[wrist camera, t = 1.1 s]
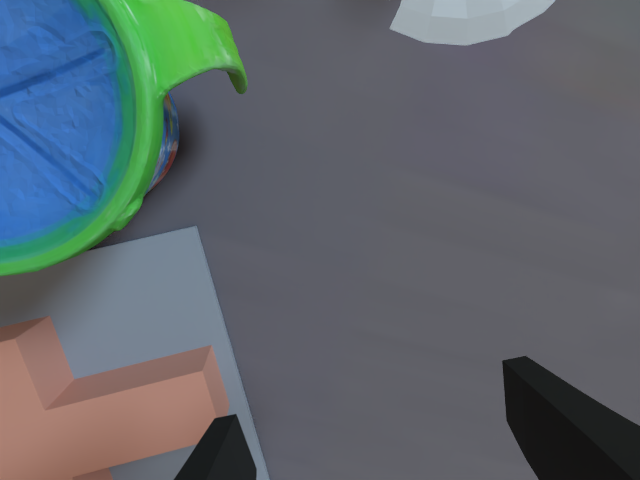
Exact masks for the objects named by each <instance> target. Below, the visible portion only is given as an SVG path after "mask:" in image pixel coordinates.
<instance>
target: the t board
mask: <svg viewBox="0 0 640 480" xmlns="http://www.w3.org/2000/svg"><path fill="white" fill-rule="evenodd" d="M45 316H50V317H51V320H52V323H53V325H54V328H55V330H56V333H57V335H58V338H59V341H60V343H61V346H62V348H63V351H64V354H65V356H66V359H67V361H68V364H69V367H70V369H71V372H72V374H73V377H74V379H77V378H81V377H85V376H89V375H93V374H97V373H101V372H105V371H109V370H113V369H117V368H121V367H125V366H129V365H133V364H137V363H141V362H145V361H149V360H153V359H157V358H161V357H165V356H169V355H173V354H177V353H181V352H185V351H189V350H193V349H197V348H201V347H205V346H209V345H212V347H213V351H214V354H215V357H216V361H217V364H218V367H219V371H220V374H221V377H222V381H223V384H224V387H225V391H226V394H227V397H228V401H229V409H228V414H227V416H228V415H233V414H237V417H238V420H239V422H240V425H241V428H242V431H243V433H244V436H245V439H246V441H247V444H248V447H249V449H250V452H251V455H252V458H253V460H254V463H255V466H256V468H257V477H256V480H270V478H269V475H268V471H267V468H266V464H265V461H264V457H263V454H262V450H261V447H260V443H259V440H258V437H257V433H256V430H255V426H254V423H253V419H252V416H251V412H250V409H249V405H248V402H247V399H246V395H245V392H244V388H243V385H242V381H241V378H240V374H239V371H238V367H237V364H236V360H235V357H234V354H233V350H232V347H231V343H230V340H229V336H228V333H227V329H226V326H225V322H224V319H223V315H222V312H221V309H220V305H219V302H218V298H217V295H216V291H215V288H214V284H213V281H212V277H211V274H210V271H209V267H208V264H207V260H206V257H205V253H204V250H203V246H202V243H201V239H200V236H199V232H198V229H197V226H192V227H187V228H183V229H179V230H174V231H170V232H166V233H161V234H157V235H153V236H149V237H144V238H140V239H136V240H131V241H127V242H123V243H118V244H114V245H110V246H105V247H101V248H97V249H92V250H88V251H85V252H83V253H82V254H80V255H78V256H76V257H73V258H71V259H68V260H66V261H63V262H61V263H59V264H55V265H53V266H50V267H47V268H45V269H42V270H39V271H36V272H28V273H23V274H18V275H8V276H0V327H4V326H8V325H12V324H16V323H20V322H25V321H29V320H33V319H37V318H41V317H45ZM196 445H197V444H196ZM196 445H192V446H188V447H184V448H180V449H177V450H173V451H169V452H165V453H162V454H158V455H154V456H150V457H146V458H143V459H139V460H135V461H131V462H128V463H124V464H120V465H116V466H112V467H109V470H110V473H111V475H112V478H113V480H174V478H175V477H176V475H177V474H178V472H179V471H180V470H181V468H182V467H183V465H184V464H185V462H186V461H187V459H188V458H189V456H190V454H191V453H192V451H193V450H194V448H195V447H196Z"/></svg>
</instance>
